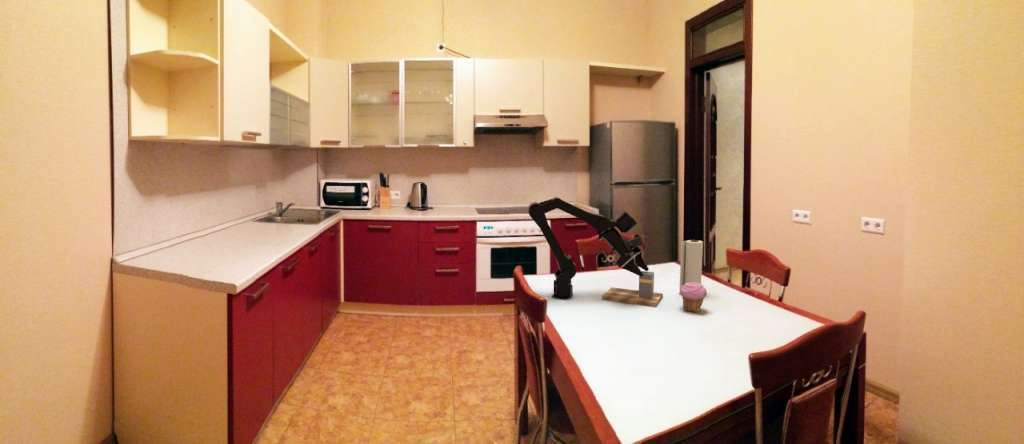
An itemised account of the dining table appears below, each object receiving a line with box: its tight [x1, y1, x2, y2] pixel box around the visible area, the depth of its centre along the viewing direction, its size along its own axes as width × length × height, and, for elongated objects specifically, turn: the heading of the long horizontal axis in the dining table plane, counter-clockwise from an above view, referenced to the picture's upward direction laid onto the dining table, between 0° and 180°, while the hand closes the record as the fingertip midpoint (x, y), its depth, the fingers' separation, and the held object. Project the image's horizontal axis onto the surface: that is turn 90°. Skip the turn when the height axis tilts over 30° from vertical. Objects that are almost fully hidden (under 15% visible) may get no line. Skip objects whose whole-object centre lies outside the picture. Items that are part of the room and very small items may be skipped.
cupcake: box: [679, 282, 708, 313], centre depth 160 cm, size 9×9×10 cm
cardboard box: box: [601, 286, 664, 308], centre depth 174 cm, size 20×13×2 cm, turn 62°
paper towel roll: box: [678, 239, 704, 296], centre depth 177 cm, size 7×6×21 cm
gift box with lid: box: [638, 270, 655, 299], centre depth 171 cm, size 5×5×9 cm
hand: (645, 273), depth 170 cm, fingers open, 9 cm apart
